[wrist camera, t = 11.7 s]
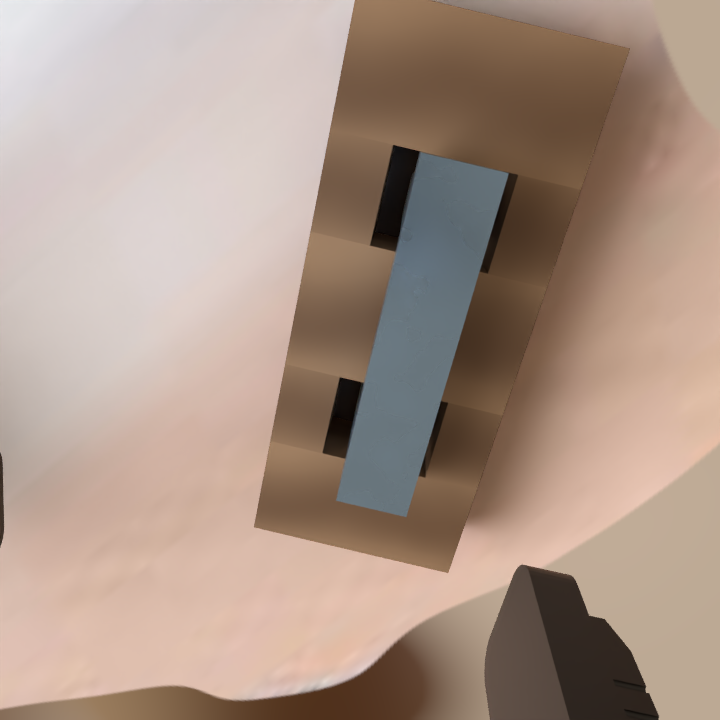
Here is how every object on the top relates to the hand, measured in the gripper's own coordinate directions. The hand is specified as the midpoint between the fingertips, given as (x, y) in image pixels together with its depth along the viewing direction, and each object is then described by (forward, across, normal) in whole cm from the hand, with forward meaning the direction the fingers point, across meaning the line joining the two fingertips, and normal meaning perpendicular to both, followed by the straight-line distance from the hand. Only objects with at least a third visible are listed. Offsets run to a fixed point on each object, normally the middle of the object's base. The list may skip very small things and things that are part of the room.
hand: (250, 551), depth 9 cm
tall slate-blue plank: (+21, -3, +1) cm, 21 cm away
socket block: (+21, -3, +1) cm, 21 cm away
